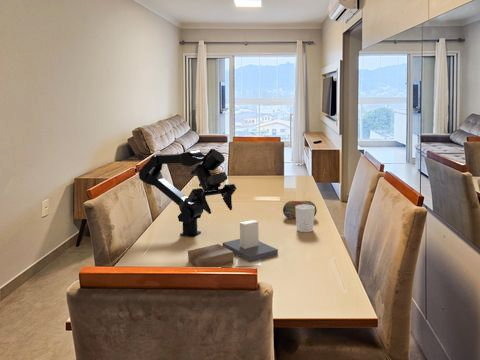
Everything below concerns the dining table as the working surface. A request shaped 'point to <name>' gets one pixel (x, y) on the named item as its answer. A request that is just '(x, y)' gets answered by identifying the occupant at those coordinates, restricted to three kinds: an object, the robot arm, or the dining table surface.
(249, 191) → the dining table surface
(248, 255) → the rubber mat
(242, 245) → the white rectangular block
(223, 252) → the walnut stand
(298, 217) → the white cup
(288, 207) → the tin
